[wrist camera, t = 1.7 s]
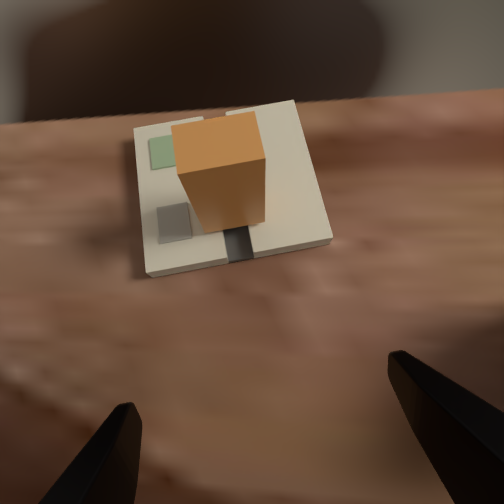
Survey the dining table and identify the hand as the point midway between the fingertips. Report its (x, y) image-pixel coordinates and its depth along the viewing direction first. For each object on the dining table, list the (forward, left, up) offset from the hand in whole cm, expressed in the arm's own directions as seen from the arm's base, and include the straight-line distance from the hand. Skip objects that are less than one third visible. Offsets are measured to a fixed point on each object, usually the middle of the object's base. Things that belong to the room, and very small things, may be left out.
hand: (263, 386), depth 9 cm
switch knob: (+6, +10, -13) cm, 17 cm away
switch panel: (+8, +12, -13) cm, 20 cm away
